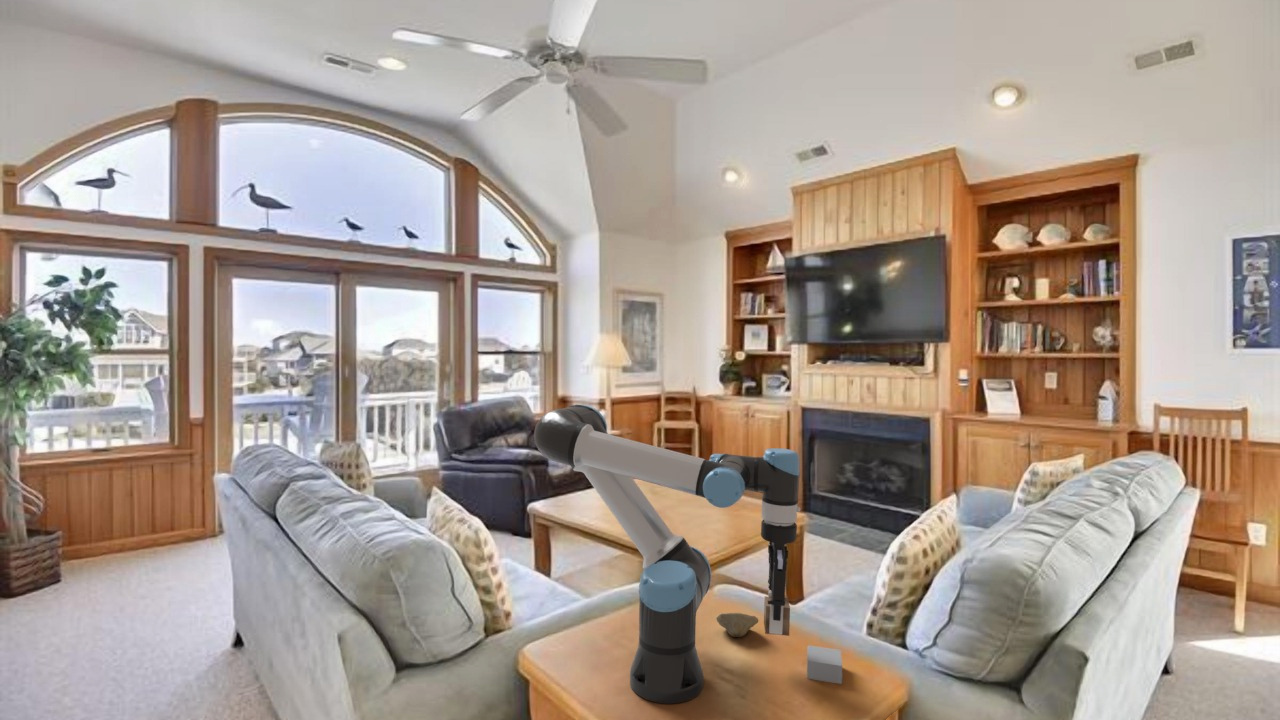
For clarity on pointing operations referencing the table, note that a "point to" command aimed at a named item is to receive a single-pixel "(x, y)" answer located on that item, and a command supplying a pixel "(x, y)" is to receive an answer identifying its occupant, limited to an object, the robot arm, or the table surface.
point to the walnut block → (785, 616)
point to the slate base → (824, 664)
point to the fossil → (736, 623)
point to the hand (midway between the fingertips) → (774, 626)
